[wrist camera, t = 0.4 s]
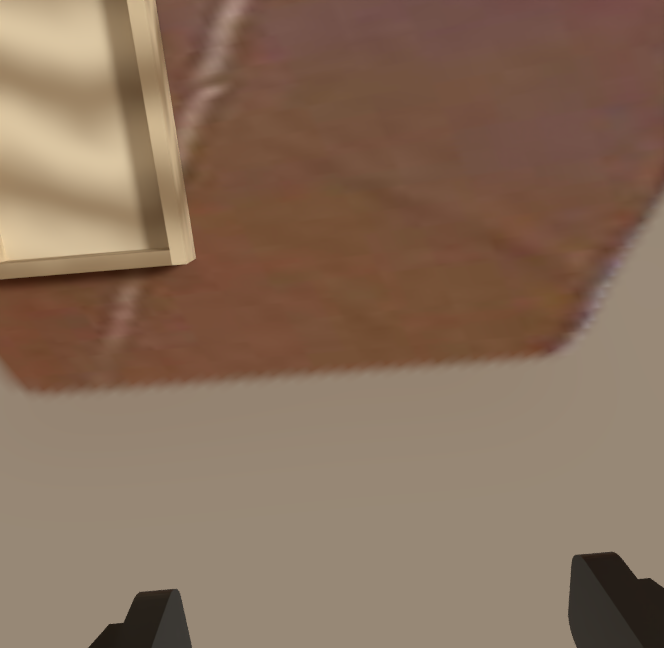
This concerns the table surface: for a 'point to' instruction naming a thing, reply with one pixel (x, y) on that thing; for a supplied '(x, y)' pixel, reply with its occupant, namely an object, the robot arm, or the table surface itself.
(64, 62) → the birch tray
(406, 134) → the table surface
